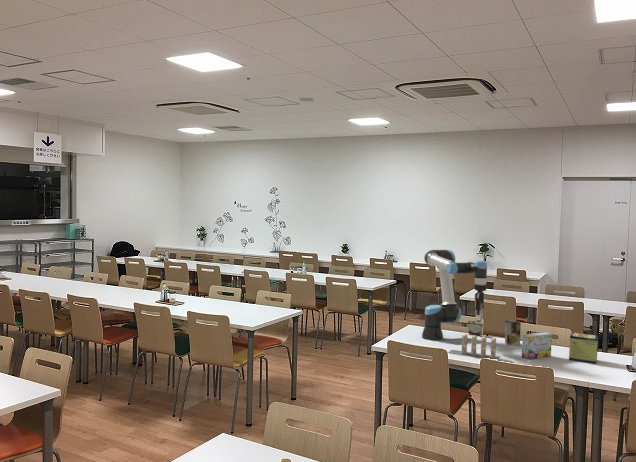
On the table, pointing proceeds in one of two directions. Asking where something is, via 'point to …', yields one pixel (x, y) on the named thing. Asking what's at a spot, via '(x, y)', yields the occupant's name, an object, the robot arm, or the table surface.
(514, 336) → the coffee box
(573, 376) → the table surface
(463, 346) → the tile
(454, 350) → the mat
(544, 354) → the snack box
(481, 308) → the tile
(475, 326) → the food container
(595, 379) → the table surface
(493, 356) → the tile
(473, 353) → the tile
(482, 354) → the tile
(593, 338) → the protein box
